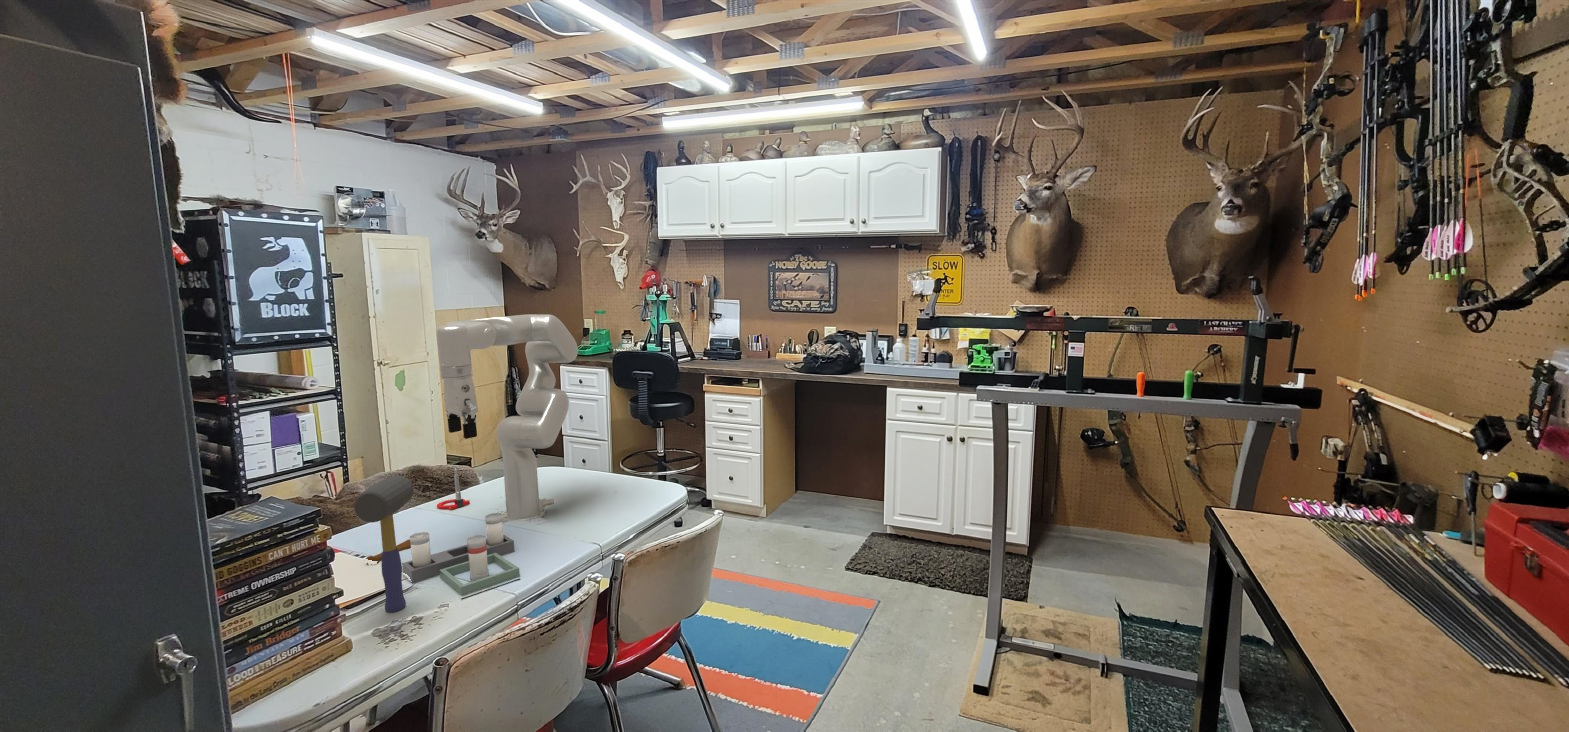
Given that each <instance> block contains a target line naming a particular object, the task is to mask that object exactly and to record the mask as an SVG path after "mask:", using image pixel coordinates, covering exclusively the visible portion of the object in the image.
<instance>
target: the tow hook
mask: <svg viewBox="0 0 1569 732" xmlns="http://www.w3.org/2000/svg"><path fill="white" fill-rule="evenodd" d="M453 471H454V474H453V478H454V489H455V498H451V499H447V500H443V501H441V502H438V503H437V504H436V508H437V509H439V510H441V509H442V510H447V509H448V510H449V511H453V510H456V509H461V508H463V507H465V506H467V505H470V504H471V502H470V499H469V500H468V499H467V500H466V499H464V498H462V494H461V491H460V490H461V488H460V481H459V480H460V478H459V474H458V468H456V467H455V468H454V469H453ZM450 503H451V504H450ZM452 503H454V504H452Z"/></svg>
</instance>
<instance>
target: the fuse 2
mask: <svg viewBox="0 0 1569 732" xmlns="http://www.w3.org/2000/svg"><path fill="white" fill-rule="evenodd" d="M502 514H503V513H500V512H493V513H488V514H487V515H485V517H484V520H485V521H484V523H485V528H486V529H485V530H486V539H487V544H488V545H489V546H493V545H496V544H499V543H503V542H504V536H503V534H504V523H503V522H504V521H503V516H502Z"/></svg>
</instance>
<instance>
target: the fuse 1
mask: <svg viewBox="0 0 1569 732" xmlns="http://www.w3.org/2000/svg"><path fill="white" fill-rule="evenodd" d="M409 539H410V544H411V548H410V551H411V552H410V553H411V560H412V563H413V568H414V569H415V568H419V567H422V566H426V565H429V564H431V555H432V553H431V547H430V545H431V544H430V533H429V532H428V531H423V532H422V531H420V532H416V533H413V534H411V535H409Z"/></svg>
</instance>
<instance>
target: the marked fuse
mask: <svg viewBox="0 0 1569 732" xmlns="http://www.w3.org/2000/svg"><path fill="white" fill-rule="evenodd" d="M486 539H487V535H483V534H479V535H472V536H470V537H468V538H467V539H466V545H467V547H468V554H469V566H470V570H469V580H470V581H471V582H473V581H476V580H479V579H482V578H485V577H488V576H490V573H489V564H488V562H487V546H486Z"/></svg>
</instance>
